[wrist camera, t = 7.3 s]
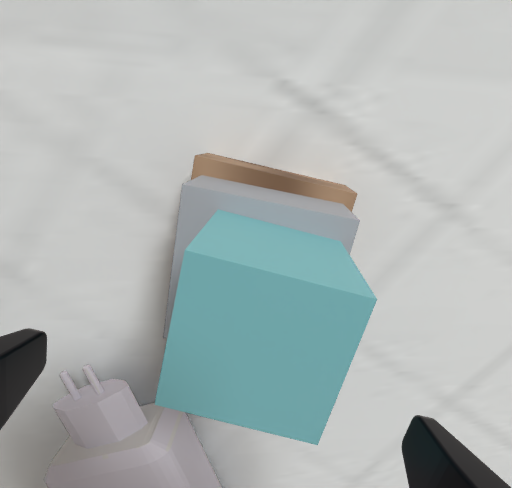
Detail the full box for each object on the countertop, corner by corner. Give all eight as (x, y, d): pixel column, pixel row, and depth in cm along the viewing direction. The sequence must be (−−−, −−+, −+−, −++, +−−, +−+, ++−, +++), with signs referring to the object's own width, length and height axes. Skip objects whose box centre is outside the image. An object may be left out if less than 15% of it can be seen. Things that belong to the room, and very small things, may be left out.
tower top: (183, 301, 18) (163, 338, 15) (201, 175, 16) (182, 184, 13) (308, 327, 18) (315, 368, 15) (342, 203, 16) (359, 220, 13)
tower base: (187, 277, 22) (171, 301, 18) (208, 152, 19) (194, 155, 16) (307, 304, 22) (312, 334, 19) (343, 184, 19) (357, 193, 16)
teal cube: (194, 318, 15) (154, 404, 10) (217, 209, 13) (185, 250, 8) (304, 346, 15) (317, 445, 10) (340, 241, 13) (376, 299, 8)
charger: (152, 330, 23) (227, 487, 27) (39, 361, 24) (126, 507, 28) (121, 376, 18) (217, 557, 22) (-16, 412, 20) (97, 576, 24)
